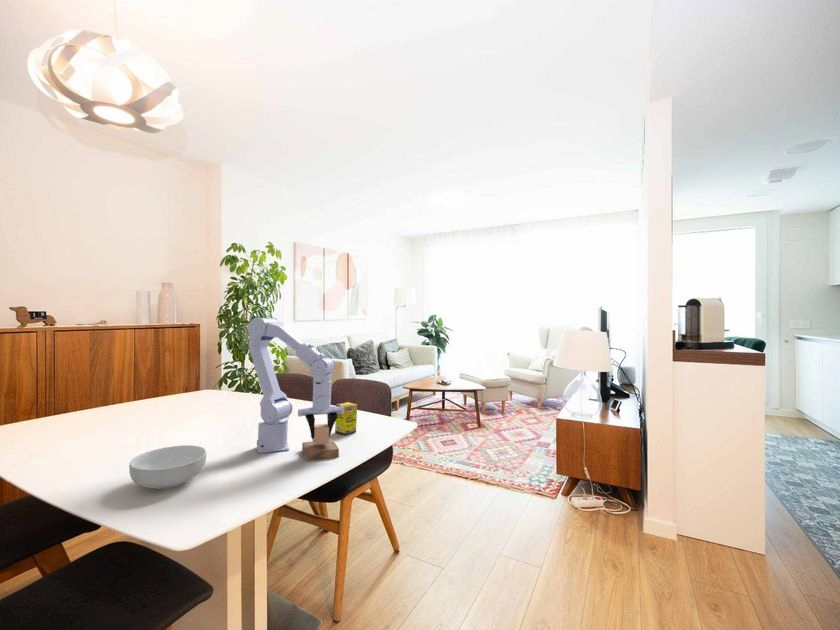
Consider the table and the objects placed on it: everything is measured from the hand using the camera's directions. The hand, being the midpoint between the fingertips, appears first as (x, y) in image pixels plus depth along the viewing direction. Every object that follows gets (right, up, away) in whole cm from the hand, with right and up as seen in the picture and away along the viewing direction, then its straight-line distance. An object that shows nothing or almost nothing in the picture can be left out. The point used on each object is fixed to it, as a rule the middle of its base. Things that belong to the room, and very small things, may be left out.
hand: (320, 436), depth 122 cm
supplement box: (+4, -6, +23) cm, 25 cm away
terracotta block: (0, -2, 0) cm, 2 cm away
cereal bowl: (-33, -4, -25) cm, 41 cm away
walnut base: (0, -5, 0) cm, 5 cm away
